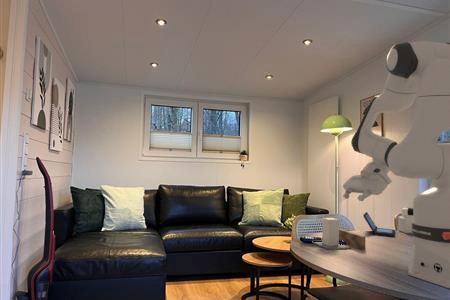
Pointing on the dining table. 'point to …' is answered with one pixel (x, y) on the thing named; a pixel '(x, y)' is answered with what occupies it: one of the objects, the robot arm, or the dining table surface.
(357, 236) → the door edge
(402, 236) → the dining table surface
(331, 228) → the block
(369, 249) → the dining table surface
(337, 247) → the grey flat board
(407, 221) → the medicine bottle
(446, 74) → the robot arm
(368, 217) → the handheld game console
